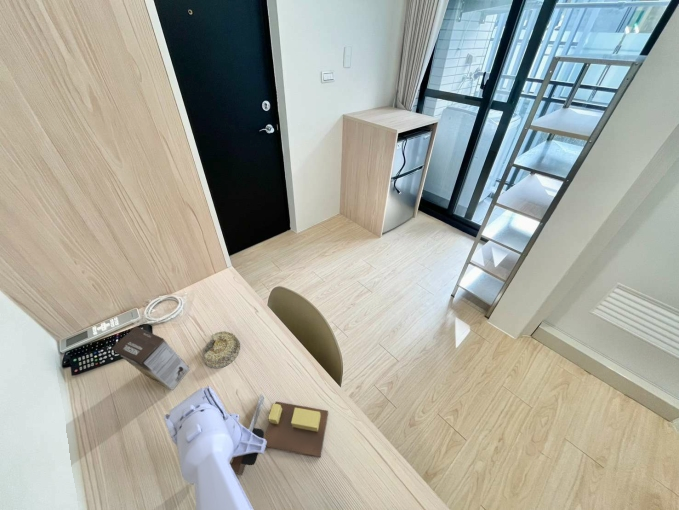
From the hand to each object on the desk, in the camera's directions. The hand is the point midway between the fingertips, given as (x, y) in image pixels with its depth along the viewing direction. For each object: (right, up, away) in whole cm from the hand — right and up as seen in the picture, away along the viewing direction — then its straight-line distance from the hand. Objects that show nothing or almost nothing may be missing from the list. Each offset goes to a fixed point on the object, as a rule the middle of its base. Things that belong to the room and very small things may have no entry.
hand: (238, 449), depth 55 cm
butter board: (+11, -1, +7) cm, 13 cm away
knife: (0, -1, +6) cm, 7 cm away
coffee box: (-25, +8, +17) cm, 31 cm away
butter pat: (+6, +2, +8) cm, 10 cm away
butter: (+13, +1, +7) cm, 15 cm away
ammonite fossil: (-13, +13, +21) cm, 27 cm away
